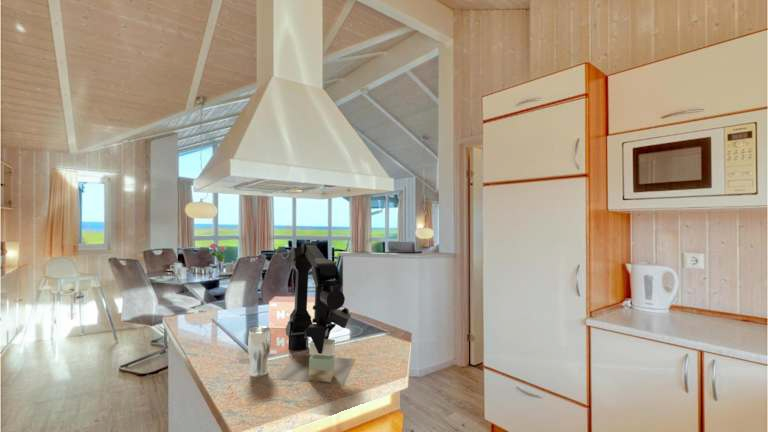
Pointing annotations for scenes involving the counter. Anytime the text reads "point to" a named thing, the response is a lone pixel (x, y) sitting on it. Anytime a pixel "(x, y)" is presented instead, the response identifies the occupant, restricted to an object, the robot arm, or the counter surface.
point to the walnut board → (300, 370)
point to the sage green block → (321, 362)
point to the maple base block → (321, 375)
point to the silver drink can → (259, 350)
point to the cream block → (327, 348)
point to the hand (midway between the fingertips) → (322, 350)
